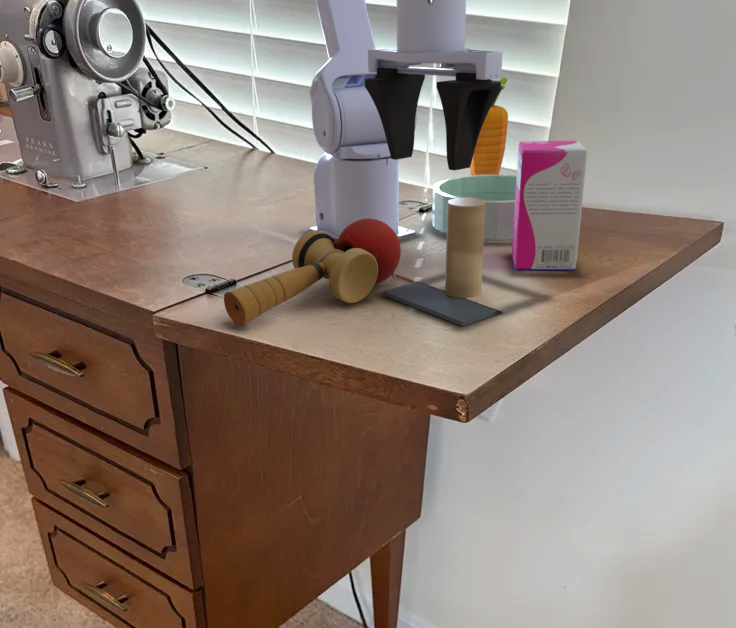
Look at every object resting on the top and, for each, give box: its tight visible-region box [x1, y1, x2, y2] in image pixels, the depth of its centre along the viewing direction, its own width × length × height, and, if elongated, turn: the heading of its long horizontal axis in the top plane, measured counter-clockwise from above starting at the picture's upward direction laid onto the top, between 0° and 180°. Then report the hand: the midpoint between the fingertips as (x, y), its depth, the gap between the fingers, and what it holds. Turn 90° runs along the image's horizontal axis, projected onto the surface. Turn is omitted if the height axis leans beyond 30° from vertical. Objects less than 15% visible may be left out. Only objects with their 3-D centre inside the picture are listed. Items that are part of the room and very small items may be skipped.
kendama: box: [223, 218, 402, 327], centre depth 69 cm, size 8×6×18 cm
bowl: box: [431, 174, 517, 241], centre depth 89 cm, size 14×14×4 cm
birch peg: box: [444, 197, 486, 299], centre depth 68 cm, size 3×3×8 cm
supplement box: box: [511, 140, 588, 272], centre depth 75 cm, size 6×6×12 cm
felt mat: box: [383, 281, 503, 327], centre depth 70 cm, size 10×10×1 cm
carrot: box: [469, 76, 509, 175], centre depth 98 cm, size 5×5×15 cm
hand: (429, 163), depth 71 cm, fingers open, 7 cm apart
